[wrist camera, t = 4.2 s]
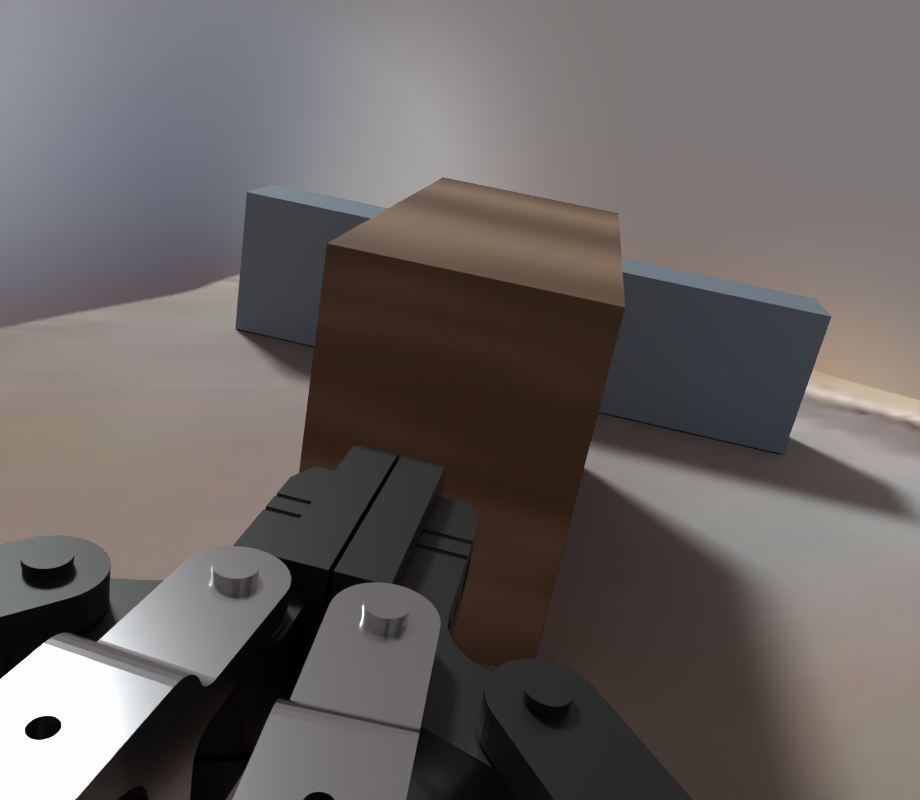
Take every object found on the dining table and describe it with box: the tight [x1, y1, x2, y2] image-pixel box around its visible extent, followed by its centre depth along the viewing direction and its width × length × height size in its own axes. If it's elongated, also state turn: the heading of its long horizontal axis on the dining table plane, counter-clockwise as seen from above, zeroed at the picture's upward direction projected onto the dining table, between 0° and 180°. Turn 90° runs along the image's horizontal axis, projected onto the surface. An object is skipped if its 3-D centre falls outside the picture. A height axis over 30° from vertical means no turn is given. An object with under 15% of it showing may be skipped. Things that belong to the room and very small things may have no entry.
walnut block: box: [299, 178, 625, 667], centre depth 24 cm, size 13×6×9 cm, turn 171°
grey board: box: [236, 185, 831, 454], centre depth 37 cm, size 3×24×6 cm, turn 80°
